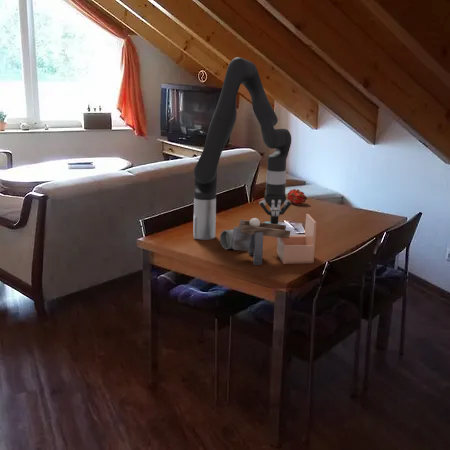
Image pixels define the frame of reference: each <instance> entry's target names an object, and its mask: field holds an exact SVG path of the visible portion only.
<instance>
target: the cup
mask: <svg viewBox="0 0 450 450" xmlns="http://www.w3.org/2000/svg"><path fill="white" fill-rule="evenodd" d="M316 233H317V221H315V219H314V218H313V217H312V216H311V215H310V214H309V213H306V214H305V226H304V235H290V236H289V239H288V238H280V237H277V243H276V254H277V256H278V258H279V259H280V261H281V263H282V264H283V265H284V264H286V265H287V264H289V265H291V264H292V265H293V264H314V261H315V260H314V259H315V246H316V236H317V235H316Z"/></svg>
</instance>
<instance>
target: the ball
mask: <svg viewBox="0 0 450 450" xmlns="http://www.w3.org/2000/svg"><path fill="white" fill-rule="evenodd" d="M249 221H250V222H249V224H250V226H255V227H259V226H260V222H261V221H260V219H258V218H257V217H253V218H251V219H250V220H249Z"/></svg>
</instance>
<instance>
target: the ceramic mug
mask: <svg viewBox="0 0 450 450" xmlns="http://www.w3.org/2000/svg"><path fill="white" fill-rule="evenodd" d="M233 230H234V229H225V230H222V232H221V233H220V235H219V242H220V245H221V248H223V249H224V250H231V249H233V248H232V245H231V242H232V236H233Z"/></svg>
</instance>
